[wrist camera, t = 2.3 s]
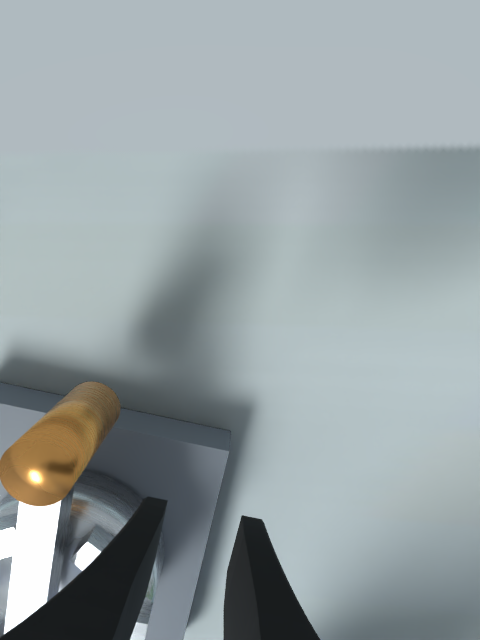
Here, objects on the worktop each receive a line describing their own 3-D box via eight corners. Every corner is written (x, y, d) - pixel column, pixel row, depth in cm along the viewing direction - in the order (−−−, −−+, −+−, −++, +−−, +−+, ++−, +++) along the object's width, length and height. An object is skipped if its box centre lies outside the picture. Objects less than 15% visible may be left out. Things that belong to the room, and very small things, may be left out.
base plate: (230, 431, 21) (229, 451, 19) (181, 632, 24) (176, 667, 22) (-10, 380, 21) (-36, 395, 19) (-29, 592, 24) (-54, 624, 22)
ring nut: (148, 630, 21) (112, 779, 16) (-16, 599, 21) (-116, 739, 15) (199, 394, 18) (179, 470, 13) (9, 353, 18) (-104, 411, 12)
